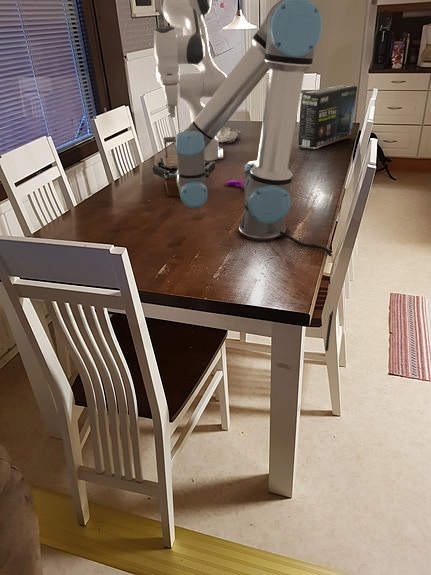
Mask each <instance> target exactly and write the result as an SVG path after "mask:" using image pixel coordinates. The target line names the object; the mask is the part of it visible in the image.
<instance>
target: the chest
mask: <svg viewBox="0 0 431 575" xmlns="http://www.w3.org/2000/svg"><path fill="white" fill-rule="evenodd" d="M163 162H164V160H163ZM164 184H165V188H166V189H165V190H166V193H167V197H178V196H179V197H180V193H179V189H178V186H177V182H176V179H174V178H173V177H172V178H170V179H169V180H168V181H166V180H165V179H164Z"/></svg>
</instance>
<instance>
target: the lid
mask: <svg viewBox="0 0 431 575" xmlns="http://www.w3.org/2000/svg"><path fill="white" fill-rule="evenodd" d="M163 143H164V151H165V152H164V153H165V155H162V158H163V160H164V165H166V166H170V167H175V166H177V167H178V164H177V154H168V147H167V146H168V145H167V143H176V136H165V137H163Z"/></svg>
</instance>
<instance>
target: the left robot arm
mask: <svg viewBox="0 0 431 575" xmlns="http://www.w3.org/2000/svg"><path fill="white" fill-rule="evenodd" d="M160 3H161V4H160V5H161V6H160V7H161V12H162V15H163V17H164V19H165V20H166V22H167V23H168V24H169V25H162V26H158V27H156V28H155V29H154V32H153V33H154V34H153V56H154V58H155V60H156V64H155V70H156V71H155V72H156V82H158V83H160V87H162V88H163V98H164V101H165V102H166V104H167V112H168V113H169V116H170V118H175V117H176V107H177V106H178V102H179V99H180V100H181V101H183V102H184V104H185V105H186V107H187V109H188V111H189V115H190V124H191V123H192V122H193V121H194V119H195V118H196V117H197V115H198V114H199V113H200V112H201V110H202V109H203V108H204V106H205V105H206V104H204V103H202V99H204V98H211V97H212V96H213V95H214V93H215V92H216V91H217V90H218V88H219V87H220V86H221V84H222V83H223V82H224V81H225V79H226V78H227V77H228V75H226V73H225V72H223V71H222V70H220V69H219V68H218V67H217V65H216V64H215V63H214V61H213V59H212V56H211V51H210V46H209V37H208V31H207V27H206V23H205V19H206V18H207V16H208V14H209V13H210V10H211V8H212V0H160ZM176 28H178V29H182V35H177V30H176ZM186 64H188V65H192V66H195V67H196V68H197V69H198V70H199V71H197V72H196V71H193V72H184V73H181V66H180V65H186ZM219 143H220V142H218V139H217V137H216V135H215V137H214V138H213V139H212V141H211V142H210V143H209V145H208V146H207V147H206V148H205V160H208V161H209V162H211V161H215V160H221V159H224V149H223V148H221V147H220V146H219V145H220V144H219Z"/></svg>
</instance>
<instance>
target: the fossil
mask: <svg viewBox="0 0 431 575" xmlns="http://www.w3.org/2000/svg"><path fill="white" fill-rule="evenodd" d="M239 135H241V136H242V133H241V131H240V130H239V129H232V128H231V127H230V126H223V127H222V128H221V129H220V130H219V132H218V133H217V134H216V137H217V139H218V142H219V143H226V144H228V145H229V144H233V142H235V141H236V140H237V139H238V138H239V137H238V136H239ZM235 139H236V140H235ZM232 141H233V142H232Z"/></svg>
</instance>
